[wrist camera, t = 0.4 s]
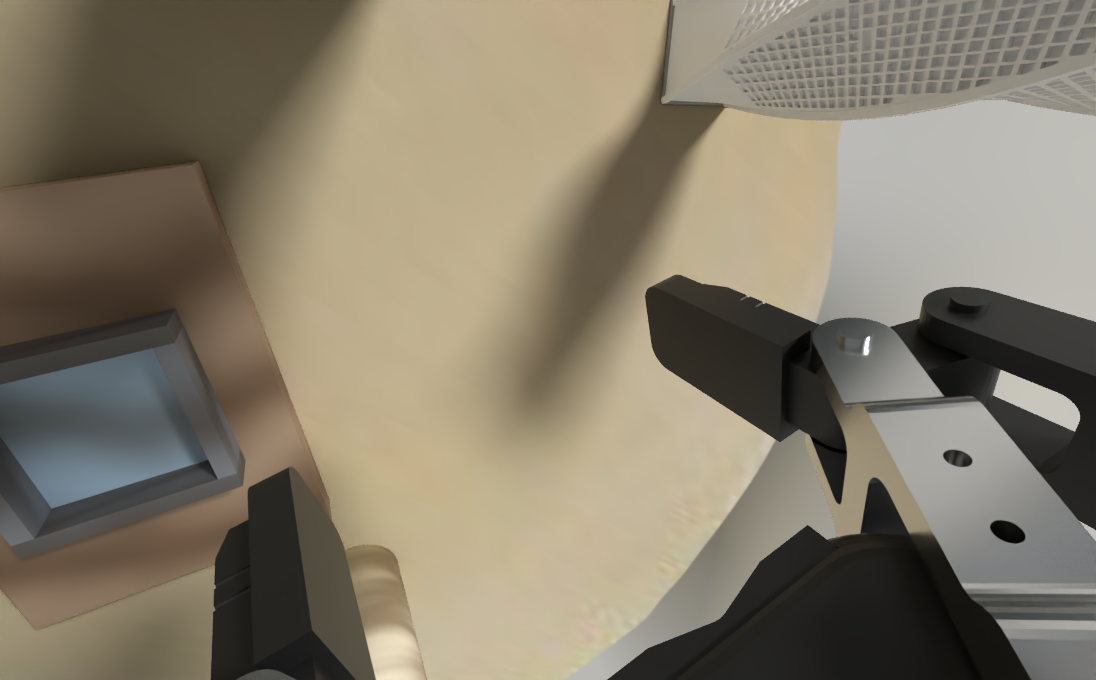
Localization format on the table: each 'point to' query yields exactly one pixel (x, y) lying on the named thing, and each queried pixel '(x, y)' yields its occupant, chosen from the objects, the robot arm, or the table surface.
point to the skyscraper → (879, 55)
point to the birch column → (385, 613)
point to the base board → (128, 389)
